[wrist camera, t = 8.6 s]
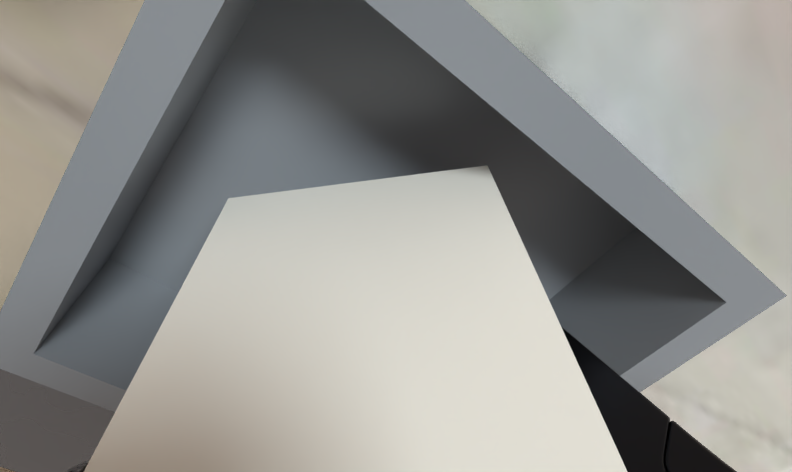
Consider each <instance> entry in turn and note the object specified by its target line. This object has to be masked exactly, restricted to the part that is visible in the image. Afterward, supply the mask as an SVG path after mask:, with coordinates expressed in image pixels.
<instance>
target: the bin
mask: <svg viewBox="0 0 792 472" xmlns="http://www.w3.org/2000/svg"><path fill="white" fill-rule="evenodd" d="M486 165H487V166H488V168H489V170H490V172H491V174H492V176H493V179H494V181H495V183H496V185H497V187H498V190H499V192H500V194H501V196H502V198H503V201H504V203H505V205H506V207H507V209H508V211H509V214H510V216H511V218H512V220H513V222H514V225H515V227H516V229H517V231H518V233H519V235H520V238H521V240H522V242H523V244H524V246H525V249H526V251H527V253H528V255H529V257H530V260H531V262H532V264H533V266H534V268H535V270H536V273H537V275H538V277H539V279H540V281H541V284H542V286H543V288H544V290H545V292H546V295H547V297H548V299H549V301H550V303H551V305H552V308H553V310H554V312H555V314H556V316H557V319H558V321H559V323H560V325H561V327H563V328H564V329H565V330H566V331H567V332H569V333H570V334H571V335H572V336H573V337H574V338H576V339H577V340H578V341H579V342H580V343H582V344H583V345H584V346H585V347H586V348H587V349H589V350H590V351H591V352H592V353H593V354H595V355H596V356H597V357H598V358H599V359H601V360H602V361H603V362H604V363H605V364H606V365H608V366H609V367H610V368H611V369H612V370H614V371H615V372H616V373H617V374H618V375H620V376H621V377H622V378H623V379H624V380H625V381H627V382H628V383H629V384H630V385H631V386H633V387H634V388H635V389H636V390H637V391H639V392H641V391H643V390H644V389H646V388H647V387H649V386H650V385H652V384H653V383H655V382H656V381H658V380H659V379H661V378H662V377H664V376H665V375H667V374H668V373H670V372H671V371H673V370H675V369H676V368H678V367H679V366H681V365H682V364H684V363H685V362H687V361H688V360H690V359H691V358H693V357H694V356H696V355H697V354H699V353H700V352H702V351H703V350H705V349H706V348H708V347H710V346H711V345H713V344H714V343H716V342H717V341H719V340H720V339H722V338H723V337H725V336H726V335H728V334H729V333H731V332H732V331H734V330H735V329H737V328H738V327H740V326H741V325H743V324H744V323H746V322H748V321H749V320H751V319H752V318H754V317H755V316H757V315H758V314H760V313H761V312H763V311H764V310H766V309H767V308H769V307H770V306H772V305H773V304H775V303H776V302H778V301H779V300H781V299H783V298H784V297H786V296H787V295H786V294H785V293H783V292H782V291H781V290H780V289H779V288H778V287H777V286H776V285H775V284H774V283H773V282H771V281H770V280H769V279H768V278H767V277H766V276H765V275H764V274H763V273H762V272H761V271H759V270H758V269H757V268H756V267H755V266H754V265H753V264H752V263H751V262H750V261H749V260H747V259H746V258H745V257H744V256H743V255H742V254H741V253H740V252H739V251H738V250H737V249H735V248H734V247H733V246H732V245H731V244H730V243H729V242H728V241H727V240H726V239H725V238H723V237H722V236H721V235H720V234H719V233H718V232H717V231H716V230H715V229H714V228H713V227H711V226H710V225H709V224H708V223H707V222H706V221H705V220H704V219H703V218H702V217H701V216H699V215H698V214H697V213H696V212H695V211H694V210H693V209H692V208H691V207H690V206H689V205H687V204H686V203H685V202H684V201H683V200H682V199H681V198H680V197H679V196H678V195H677V194H675V193H674V192H673V191H672V190H671V189H670V188H669V187H668V186H667V185H666V184H665V183H664V182H662V181H661V180H660V179H659V178H658V177H657V176H656V175H655V174H654V173H653V172H652V171H650V170H649V169H648V168H647V167H646V166H645V165H644V164H643V163H642V162H641V161H640V160H638V159H637V158H636V157H635V156H634V155H633V154H632V153H631V152H630V151H629V150H628V149H626V148H625V147H624V146H623V145H622V144H621V143H620V142H619V141H618V140H617V139H616V138H614V137H613V136H612V135H611V134H610V133H609V132H608V131H607V130H606V129H605V128H604V127H602V126H601V125H600V124H599V123H598V122H597V121H596V120H595V119H594V118H593V117H592V116H590V115H589V114H588V113H587V112H586V111H585V110H584V109H583V108H582V107H581V106H580V105H578V104H577V103H576V102H575V101H574V100H573V99H572V98H571V97H570V96H569V95H568V94H566V93H565V92H564V91H563V90H562V89H561V88H560V87H559V86H558V85H557V84H556V83H554V82H553V81H552V80H551V79H550V78H549V77H548V76H547V75H546V74H545V73H544V72H542V71H541V70H540V69H539V68H538V67H537V66H536V65H535V64H534V63H533V62H532V61H531V60H529V59H528V58H527V57H526V56H525V55H524V54H523V53H522V52H521V51H520V50H519V49H517V48H516V47H515V46H514V45H513V44H512V43H511V42H510V41H509V40H508V39H507V38H505V37H504V36H503V35H502V34H501V33H500V32H499V31H498V30H497V29H496V28H495V27H493V26H492V25H491V24H490V23H489V22H488V21H487V20H486V19H485V18H484V17H483V16H481V15H480V14H479V13H478V12H477V11H476V10H475V9H474V8H473V7H472V6H471V5H469V4H468V3H467V2H466V1H465V0H145V1H144V3H143V5H142V7H141V10H140V12H139V14H138V16H137V18H136V20H135V22H134V25H133V27H132V29H131V31H130V33H129V35H128V38H127V40H126V42H125V44H124V46H123V48H122V50H121V53H120V55H119V57H118V59H117V61H116V63H115V66H114V68H113V70H112V72H111V74H110V76H109V78H108V81H107V83H106V85H105V87H104V89H103V91H102V94H101V96H100V98H99V100H98V102H97V104H96V106H95V109H94V111H93V113H92V115H91V117H90V119H89V122H88V124H87V126H86V128H85V130H84V132H83V134H82V137H81V139H80V141H79V143H78V145H77V147H76V150H75V152H74V154H73V156H72V158H71V160H70V162H69V165H68V167H67V169H66V171H65V173H64V175H63V178H62V180H61V182H60V184H59V186H58V188H57V190H56V193H55V195H54V197H53V199H52V201H51V203H50V206H49V208H48V210H47V212H46V214H45V216H44V219H43V221H42V223H41V225H40V227H39V229H38V231H37V234H36V236H35V238H34V240H33V242H32V244H31V247H30V249H29V251H28V253H27V255H26V257H25V259H24V262H23V264H22V266H21V268H20V270H19V272H18V275H17V277H16V279H15V281H14V283H13V285H12V287H11V290H10V292H9V294H8V296H7V298H6V300H5V303H4V305H3V307H2V309H1V311H0V369H2V370H5V371H7V372H10V373H13V374H15V375H18V376H21V377H23V378H26V379H29V380H31V381H34V382H37V383H39V384H42V385H45V386H47V387H50V388H53V389H55V390H58V391H61V392H63V393H66V394H68V395H71V396H74V397H76V398H79V399H82V400H84V401H87V402H90V403H92V404H95V405H98V406H100V407H103V408H106V409H108V410H111V411H114V412H116V410H117V408H118V406H119V404H120V402H121V400H122V398H123V396H124V395H125V393H126V391H127V389H128V387H129V385H130V383H131V381H132V379H133V378H134V376H135V374H136V372H137V370H138V368H139V366H140V364H141V362H142V361H143V359H144V357H145V355H146V353H147V351H148V349H149V347H150V345H151V344H152V342H153V340H154V338H155V336H156V334H157V332H158V330H159V328H160V327H161V325H162V323H163V321H164V319H165V317H166V315H167V313H168V311H169V310H170V308H171V306H172V304H173V302H174V300H175V298H176V296H177V294H178V293H179V291H180V289H181V287H182V285H183V283H184V281H185V279H186V277H187V276H188V274H189V272H190V270H191V268H192V266H193V264H194V262H195V260H196V259H197V257H198V255H199V253H200V251H201V249H202V247H203V245H204V243H205V242H206V240H207V238H208V236H209V234H210V232H211V230H212V228H213V226H214V225H215V223H216V221H217V219H218V217H219V215H220V213H221V211H222V209H223V207H224V206H225V204H226V202H227V200H228V198H234V197H242V196H250V195H258V194H266V193H273V192H281V191H289V190H297V189H305V188H313V187H321V186H329V185H336V184H344V183H352V182H360V181H368V180H376V179H384V178H392V177H399V176H407V175H415V174H423V173H431V172H439V171H447V170H455V169H462V168H470V167H478V166H486Z"/></svg>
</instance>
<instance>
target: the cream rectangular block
mask: <svg viewBox="0 0 792 472" xmlns="http://www.w3.org/2000/svg"><path fill="white" fill-rule="evenodd" d="M84 472H627V469H626V467H625V465H624V463H623V461H622V459H621V456H620V454H619V452H618V450H617V448H616V445H615V443H614V441H613V439H612V437H611V435H610V432H609V430H608V428H607V426H606V424H605V421H604V419H603V417H602V415H601V413H600V410H599V408H598V406H597V404H596V402H595V400H594V397H593V395H592V393H591V391H590V389H589V386H588V384H587V382H586V380H585V378H584V375H583V373H582V371H581V369H580V367H579V365H578V362H577V360H576V358H575V356H574V354H573V351H572V349H571V347H570V345H569V343H568V340H567V338H566V336H565V334H564V332H563V330H562V327H561V325H560V323H559V321H558V319H557V316H556V314H555V312H554V310H553V308H552V305H551V303H550V301H549V299H548V297H547V295H546V292H545V290H544V288H543V286H542V284H541V281H540V279H539V277H538V275H537V273H536V270H535V268H534V266H533V264H532V262H531V260H530V257H529V255H528V253H527V251H526V249H525V246H524V244H523V242H522V240H521V238H520V235H519V233H518V231H517V229H516V227H515V225H514V222H513V220H512V218H511V216H510V214H509V211H508V209H507V207H506V205H505V203H504V201H503V198H502V196H501V194H500V192H499V190H498V187H497V185H496V183H495V181H494V179H493V176H492V174H491V172H490V170H489V168H488V166H487V165H486V166H478V167H470V168H462V169H455V170H447V171H439V172H431V173H423V174H415V175H407V176H399V177H392V178H384V179H376V180H368V181H360V182H352V183H344V184H336V185H329V186H321V187H313V188H305V189H297V190H289V191H281V192H273V193H266V194H258V195H250V196H242V197H234V198H228V200H227V202H226V204H225V206H224V207H223V209H222V211H221V213H220V215H219V217H218V219H217V221H216V223H215V225H214V226H213V228H212V230H211V232H210V234H209V236H208V238H207V240H206V242H205V243H204V245H203V247H202V249H201V251H200V253H199V255H198V257H197V259H196V260H195V262H194V264H193V266H192V268H191V270H190V272H189V274H188V276H187V277H186V279H185V281H184V283H183V285H182V287H181V289H180V291H179V293H178V294H177V296H176V298H175V300H174V302H173V304H172V306H171V308H170V310H169V311H168V313H167V315H166V317H165V319H164V321H163V323H162V325H161V327H160V328H159V330H158V332H157V334H156V336H155V338H154V340H153V342H152V344H151V345H150V347H149V349H148V351H147V353H146V355H145V357H144V359H143V361H142V362H141V364H140V366H139V368H138V370H137V372H136V374H135V376H134V378H133V379H132V381H131V383H130V385H129V387H128V389H127V391H126V393H125V395H124V396H123V398H122V400H121V402H120V404H119V406H118V408H117V410H116V412H115V413H114V415H113V417H112V419H111V421H110V423H109V425H108V427H107V429H106V430H105V432H104V434H103V436H102V438H101V440H100V442H99V444H98V446H97V447H96V449H95V451H94V453H93V455H92V457H91V459H90V461H89V463H88V464H87V466H86V468H85V470H84Z"/></svg>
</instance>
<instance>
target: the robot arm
mask: <svg viewBox="0 0 792 472" xmlns="http://www.w3.org/2000/svg"><path fill="white" fill-rule="evenodd" d="M562 330H563V332H564V334H565V336H566V338H567V340H568V343H569V345H570V347H571V349H572V351H573V354H574V356H575V358H576V360H577V362H578V365H579V367H580V369H581V371H582V373H583V375H584V378H585V380H586V382H587V384H588V386H589V389H590V391H591V393H592V395H593V397H594V400H595V402H596V404H597V406H598V408H599V410H600V413H601V415H602V417H603V419H604V421H605V424H606V426H607V428H608V430H609V432H610V435H611V437H612V439H613V441H614V443H615V445H616V448H617V450H618V452H619V454H620V456H621V459H622V461H623V463H624V465H625V467H626V469H627V472H737V471H735V470H734V469H733V468H731V467H730V466H728V465H727V464H726V463H724V462H723V461H722V460H721V459H720V458H718V457H717V456H716V455H715V454H713V453H712V452H711V451H710V450H708V449H707V448H706V447H705V446H703V445H702V444H701V443H700V442H698V441H697V440H696V439H695V438H693V437H692V436H691V435H690V434H689V433H687V432H686V431H685V430H684V429H683V428H682V427H680V426H679V425H678V424H677V423H676V422H674V421H671V422H670V418H669V417H668V416H667V415H666V414H665V413H663V412H662V411H661V410H660V409H659V408H658V407H656V406H655V405H654V404H653V403H652V402H650V401H649V400H648V399H647V398H646V397H644V396H643V395H642V394H641V393H640V392H639V391H637V390H636V389H635V388H634V387H633V386H631V385H630V384H629V383H628V382H627V381H625V380H624V379H623V378H622V377H621V376H620V375H618V374H617V373H616V372H615V371H614V370H612V369H611V368H610V367H609V366H608V365H606V364H605V363H604V362H603V361H602V360H601V359H599V358H598V357H597V356H596V355H595V354H593V353H592V352H591V351H590V350H589V349H587V348H586V347H585V346H584V345H583V344H582V343H580V342H579V341H578V340H577V339H576V338H574V337H573V336H572V335H571V334H570V333H569V332H567V331H566V330H565V329H564V328H563V327H562ZM88 463H89V462H88ZM88 463H87V464H88ZM87 464H86V465H85V466H84V467H83V468H82V469H81V470H80V471H79V472H84V470H85V468H86V466H87Z"/></svg>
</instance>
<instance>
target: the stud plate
mask: <svg viewBox="0 0 792 472" xmlns="http://www.w3.org/2000/svg"><path fill="white" fill-rule="evenodd" d="M114 413H115V412H114V411H111V410H108V409H106V408H103V407H100V406H98V405H95V404H92V403H90V402H87V401H84V400H82V399H79V398H76V397H74V396H71V395H68V394H66V393H63V392H61V391H58V390H55V389H53V388H50V387H47V386H45V385H42V384H39V383H37V382H34V381H31V380H29V379H26V378H23V377H21V376H18V375H15V374H13V373H10V372H7V371H5V370H2V369H0V467H3V468H6V469H9V470H13V471H16V472H79V471H80V470H81V469H82V468H83V467H84V466H85V465H86V464H87V463H88V462H89V461H90V459H91V457H92V455H93V453H94V451H95V449H96V447H97V446H98V444H99V442H100V440H101V438H102V436H103V434H104V432H105V430H106V429H107V427H108V425H109V423H110V421H111V419H112V417H113V415H114Z"/></svg>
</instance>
